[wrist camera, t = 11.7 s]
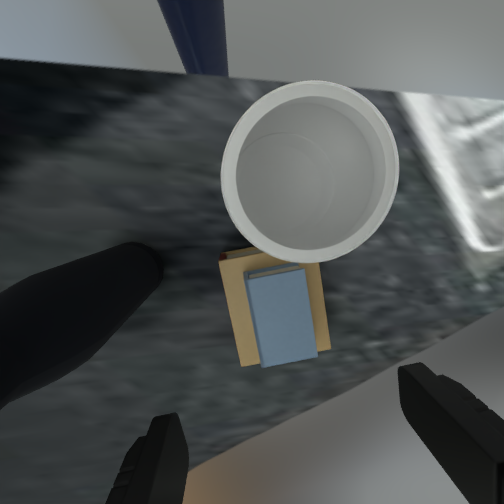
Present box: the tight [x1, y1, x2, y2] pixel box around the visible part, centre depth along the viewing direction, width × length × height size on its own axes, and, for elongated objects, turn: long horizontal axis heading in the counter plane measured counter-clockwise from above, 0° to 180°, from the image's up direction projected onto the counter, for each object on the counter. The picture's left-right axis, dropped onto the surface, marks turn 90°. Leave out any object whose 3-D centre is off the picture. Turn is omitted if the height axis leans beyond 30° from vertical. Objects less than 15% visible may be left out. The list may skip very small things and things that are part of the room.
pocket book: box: [243, 262, 318, 368], centre depth 27 cm, size 9×6×3 cm, turn 11°
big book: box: [218, 246, 331, 367], centre depth 31 cm, size 12×10×4 cm
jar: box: [221, 80, 399, 263], centre depth 23 cm, size 11×10×15 cm
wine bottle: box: [0, 242, 164, 410], centre depth 16 cm, size 6×6×30 cm
